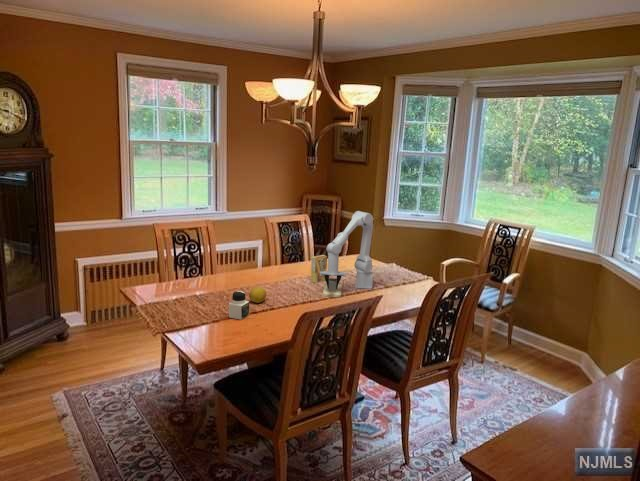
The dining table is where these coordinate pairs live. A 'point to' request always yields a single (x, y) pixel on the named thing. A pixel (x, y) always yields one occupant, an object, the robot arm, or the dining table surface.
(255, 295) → the fruit
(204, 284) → the dining table surface
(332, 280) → the sanding block
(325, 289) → the board
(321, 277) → the candy box
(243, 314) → the medicine bottle
